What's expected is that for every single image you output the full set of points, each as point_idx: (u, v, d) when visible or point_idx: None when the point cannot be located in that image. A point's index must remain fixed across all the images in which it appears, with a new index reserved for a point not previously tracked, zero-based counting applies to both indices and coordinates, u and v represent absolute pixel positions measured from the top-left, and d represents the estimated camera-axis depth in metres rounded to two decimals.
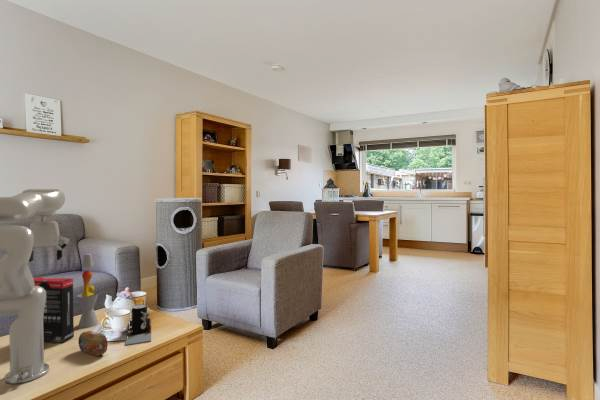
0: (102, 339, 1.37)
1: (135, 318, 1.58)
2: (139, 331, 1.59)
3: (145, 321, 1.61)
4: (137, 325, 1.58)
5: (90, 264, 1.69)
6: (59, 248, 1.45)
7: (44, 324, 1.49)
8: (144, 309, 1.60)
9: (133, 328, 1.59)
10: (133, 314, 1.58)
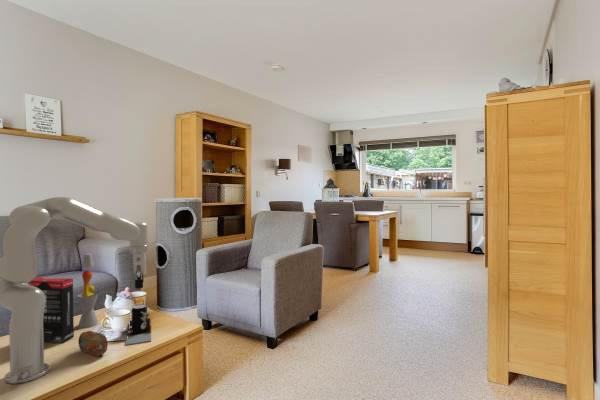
0: (102, 339, 1.37)
1: (135, 318, 1.58)
2: (139, 331, 1.59)
3: (145, 321, 1.61)
4: (137, 325, 1.58)
5: (90, 264, 1.69)
6: (142, 272, 1.67)
7: (44, 324, 1.49)
8: (144, 309, 1.60)
9: (133, 328, 1.59)
10: (133, 314, 1.58)
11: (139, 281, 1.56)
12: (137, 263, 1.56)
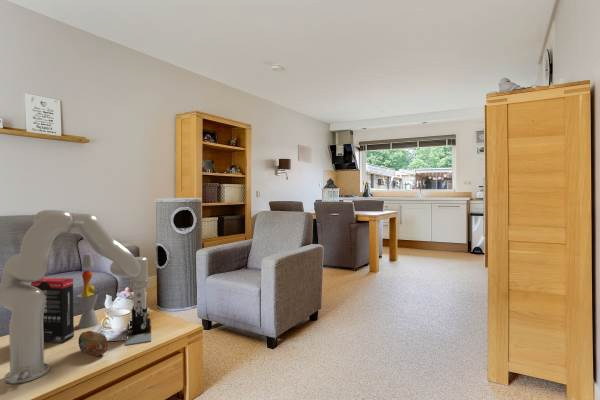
0: (102, 339, 1.37)
1: None
2: (139, 331, 1.59)
3: (145, 321, 1.61)
4: None
5: (90, 264, 1.69)
6: None
7: (44, 324, 1.49)
8: (144, 309, 1.60)
9: (133, 328, 1.59)
10: (133, 314, 1.58)
11: (139, 318, 1.57)
12: (137, 299, 1.56)
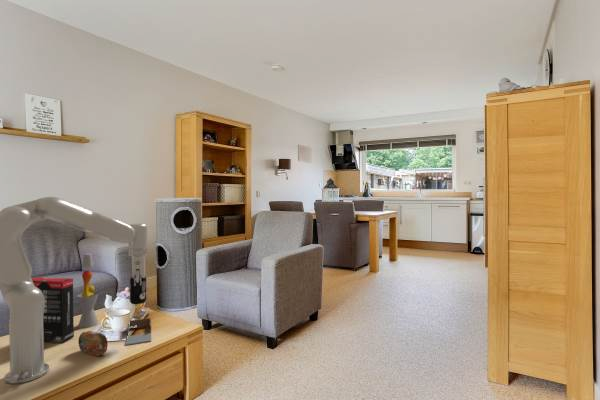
0: (102, 339, 1.37)
1: None
2: (138, 301, 1.50)
3: (144, 291, 1.52)
4: None
5: (90, 264, 1.69)
6: None
7: (44, 324, 1.49)
8: (143, 278, 1.51)
9: (131, 298, 1.50)
10: (131, 283, 1.49)
11: (138, 287, 1.48)
12: (136, 267, 1.48)
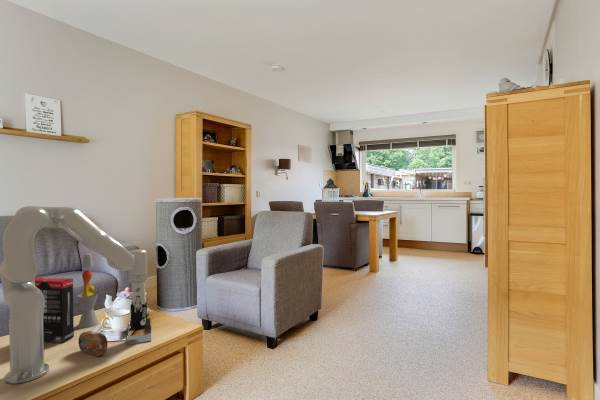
0: (102, 339, 1.37)
1: None
2: (138, 328, 1.50)
3: (145, 317, 1.52)
4: (136, 321, 1.49)
5: (90, 264, 1.69)
6: None
7: (44, 324, 1.49)
8: (144, 304, 1.51)
9: (132, 324, 1.50)
10: (132, 310, 1.50)
11: (138, 314, 1.48)
12: (136, 293, 1.48)
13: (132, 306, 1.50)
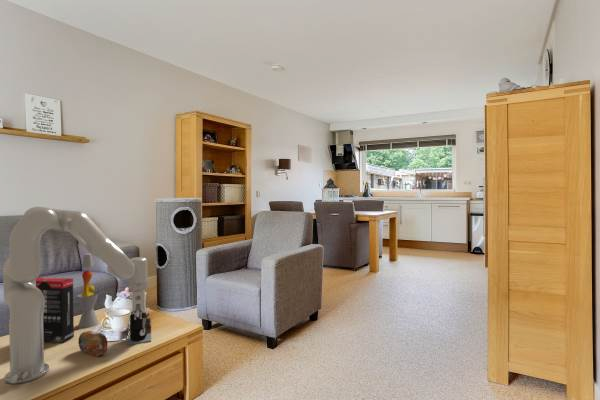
0: (102, 339, 1.37)
1: None
2: (138, 338, 1.50)
3: (144, 327, 1.52)
4: (136, 331, 1.49)
5: (90, 264, 1.69)
6: None
7: (44, 324, 1.49)
8: (143, 315, 1.51)
9: (131, 335, 1.50)
10: (131, 320, 1.49)
11: (138, 321, 1.47)
12: (136, 302, 1.48)
13: (132, 316, 1.50)
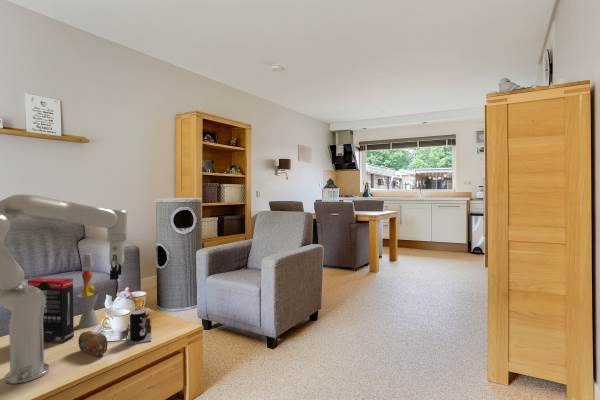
0: (102, 339, 1.37)
1: (134, 324, 1.49)
2: (138, 338, 1.50)
3: (144, 327, 1.52)
4: (136, 331, 1.49)
5: (90, 264, 1.69)
6: None
7: (44, 324, 1.49)
8: (143, 315, 1.51)
9: (131, 335, 1.50)
10: (131, 320, 1.49)
11: (114, 272, 1.45)
12: (113, 252, 1.46)
13: (131, 316, 1.50)
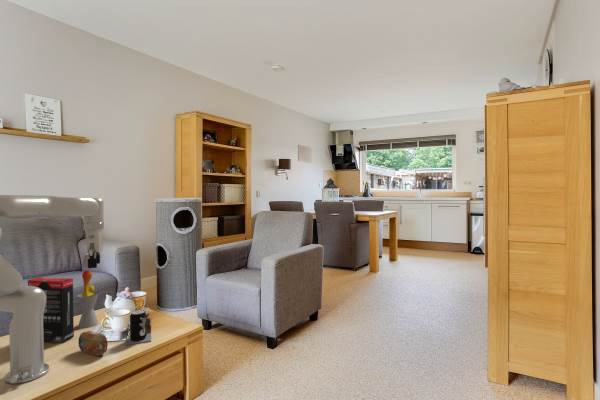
0: (102, 339, 1.37)
1: (134, 324, 1.49)
2: (138, 338, 1.50)
3: (144, 327, 1.52)
4: (136, 331, 1.49)
5: None
6: (99, 252, 1.55)
7: (44, 324, 1.49)
8: (143, 315, 1.51)
9: (131, 335, 1.50)
10: (131, 320, 1.49)
11: (92, 260, 1.44)
12: (90, 241, 1.45)
13: (131, 316, 1.50)
